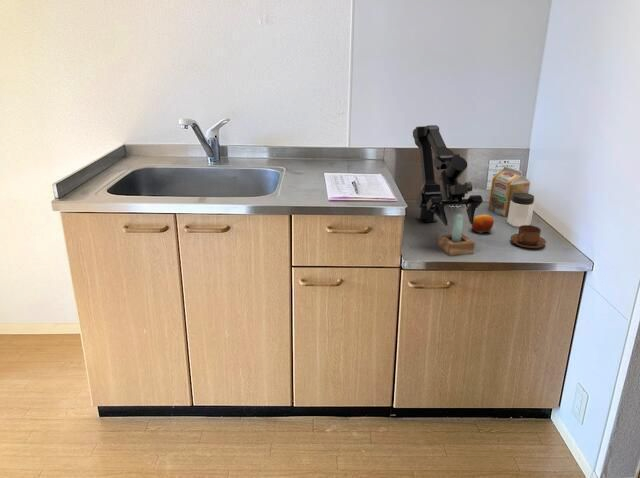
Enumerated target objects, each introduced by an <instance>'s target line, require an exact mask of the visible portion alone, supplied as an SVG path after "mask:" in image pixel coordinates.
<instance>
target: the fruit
mask: <svg viewBox="0 0 640 478" xmlns="http://www.w3.org/2000/svg"><path fill="white" fill-rule="evenodd" d="M494 222H495V219H494V218H493V217H492V216H491V215H489V214H478V215H476V216H474V219H473V224H471V228H472V230H473V232H475V233H476V232H477V233H479V234H482V233H489V234H491V230H492V228H493V226H494Z"/></svg>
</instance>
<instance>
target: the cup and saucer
mask: <svg viewBox="0 0 640 478" xmlns="http://www.w3.org/2000/svg"><path fill="white" fill-rule="evenodd" d="M541 231H542V229H541V228H539V226H535V225H522V226H520V227H518V231H517V232H518V233H514V234H512V235H511V236H510V241H511V242H512V243H513V244H515V245H516V246H519V247H522V248H526V249H538V248H542V247H543V246H545V245H546V243H547V241H546V240H545V238H543V237H541Z"/></svg>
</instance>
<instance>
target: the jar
mask: <svg viewBox="0 0 640 478" xmlns="http://www.w3.org/2000/svg"><path fill="white" fill-rule="evenodd" d="M534 207H535V196H534V195H533V194H530V193H529V192H528V193H514V194H513V195H512V200H511V201H510V207H509V213H508V217H507V219H506V220H507V221H506V222H507V224H509V225H511V226H512V227H516V228H517V227H518V228H519V227H520V226H522V225H530V226H532V225H531V224H532V217H533V213H534Z"/></svg>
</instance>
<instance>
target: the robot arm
mask: <svg viewBox="0 0 640 478" xmlns="http://www.w3.org/2000/svg"><path fill="white" fill-rule="evenodd" d="M412 137H413V139H414V144H415V146H417V148H418V149H419V155H420V157H419V158H420V164H421V165H420V167H421V177H422V185H421V187H420V189H419V194H418V196H417V197H416V198H415V205H417V207H418V208H419V216H416V217H415V218H416V219H417V220H418V221H420V222H421V223H423V224H425V223H434V222H438V220H437V219H436V218H435V215H436V216H437V217H438V218H439V219H440V222H442V223H443V225H445V226H448V218H447V215H446V211H445V206H461V205H465V207H466V214H467V217H468V221H469V224H470V225H472V224H473V219H474V217H475V212H476V209H478V208H479V206H480V205H481V204H482V203H483V202H484V199H483V196H482V195H480V194H470V195H469V197H467V198H464V197H465V195H468V194H469V193H470V192H472V191H473V189H474V188H473V184H472V182H471V181H466V182H464V184H462V183H460V182H459V178H460V177H461V176H462V174H463V173H464V171H465V170H466V169H467V168H468V161H466V159H465V158H464V157H462V156H461V155H460V153H456V154H455V153H454V151H452V150H451V149H450V148H448V147H447V145H446V143H445V141H444V139H443V137H442V135H441V133H440V127H439V126H438V125H436V124H435V125H433V124H430V125H425V126H424V125H423V126H416V127H415V128H414V129H413V131H412ZM433 153H434V156H433ZM433 157H434V158H433ZM434 169H436V170H438V171H439V170H440V171H442V170H443V171H442V172H440V175H439V180H440V181H441V185H442V190H441V185H440V184H439V183H437V181H436V180H435V171H434ZM443 195H444V198H445V199H444V198H443Z"/></svg>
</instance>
